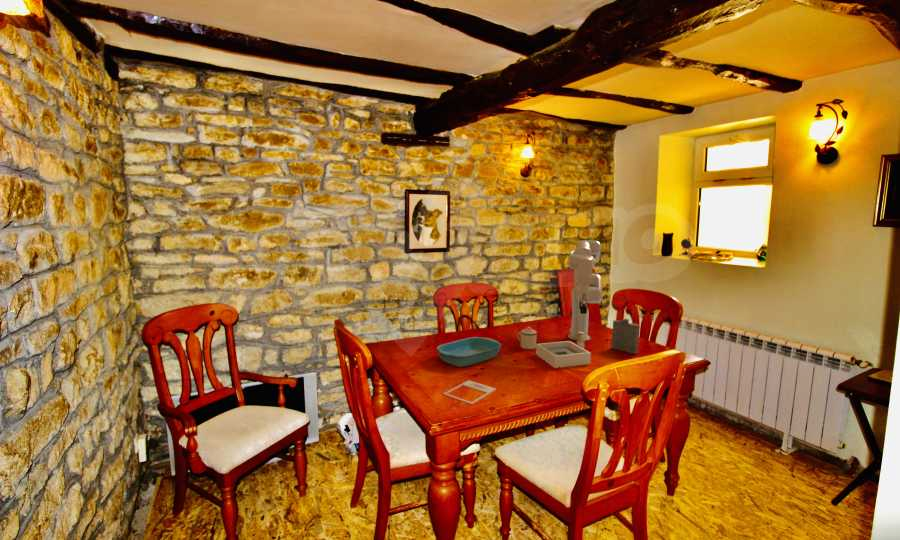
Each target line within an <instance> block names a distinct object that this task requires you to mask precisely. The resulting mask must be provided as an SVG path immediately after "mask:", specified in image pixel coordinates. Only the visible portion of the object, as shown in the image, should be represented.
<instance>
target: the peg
mask: <svg viewBox="0 0 900 540" xmlns="http://www.w3.org/2000/svg"><path fill="white" fill-rule="evenodd" d="M585 342H586V341H585V333H584V332H577V340H576V345H578V346H580V347H581V348H583V349H585Z"/></svg>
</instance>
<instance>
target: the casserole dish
mask: <svg viewBox="0 0 900 540" xmlns="http://www.w3.org/2000/svg"><path fill="white" fill-rule="evenodd" d="M501 347H502V343H500V342H499V341H498V340H496V339H494V338H489V337H479V336H473V337H468V338H463V339H459V340H455V341H454V340H453V341H451V342H447V343H443V344H440V345H438V346H437V347H436V350H437V352H438V353H437V354H438V356H439V358H440V359H441V360H442V361H443V362H445V363H447V364H450V365H452V366H456V367H458V368H459V367H460V368H462V367H468V366H472V365H475V364H478V363H482V362H485V361H488V360H491V359H494V358H496V357H497V355H498V354H499V352H500V349H501Z"/></svg>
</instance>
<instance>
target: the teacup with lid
mask: <svg viewBox="0 0 900 540" xmlns="http://www.w3.org/2000/svg"><path fill="white" fill-rule="evenodd" d="M537 336H538V332H537V330H535V329H533V328H531V326H527V327H526V328H524V329H521V331H520V332H518V333H517V334H516V337H517V339H518V341H519V342H520V347H521V348H522V349H525V350H536V344H537Z"/></svg>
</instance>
